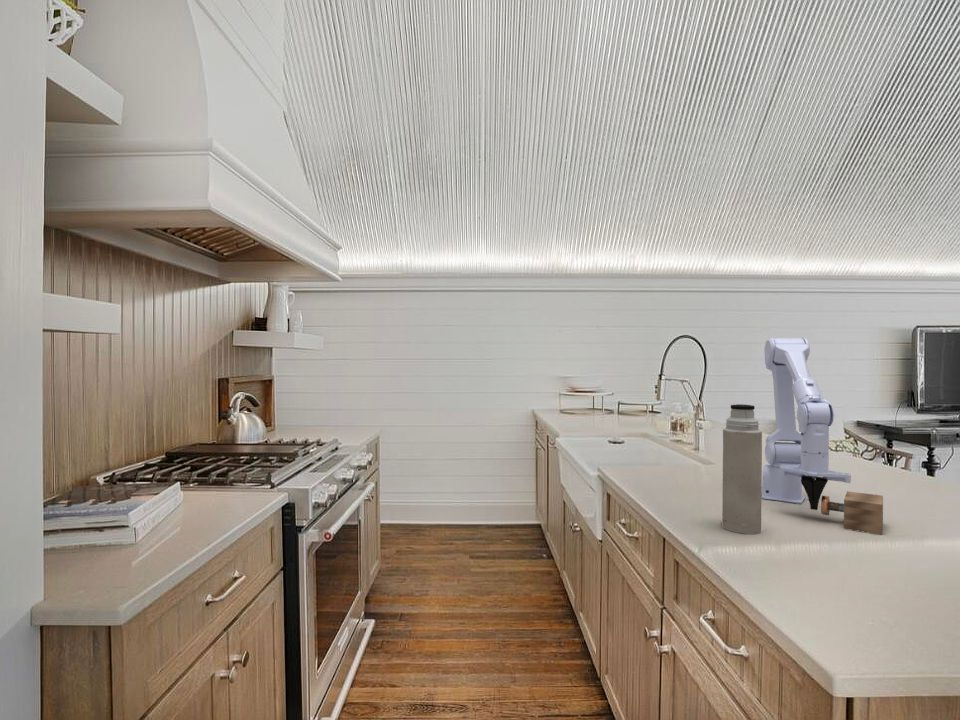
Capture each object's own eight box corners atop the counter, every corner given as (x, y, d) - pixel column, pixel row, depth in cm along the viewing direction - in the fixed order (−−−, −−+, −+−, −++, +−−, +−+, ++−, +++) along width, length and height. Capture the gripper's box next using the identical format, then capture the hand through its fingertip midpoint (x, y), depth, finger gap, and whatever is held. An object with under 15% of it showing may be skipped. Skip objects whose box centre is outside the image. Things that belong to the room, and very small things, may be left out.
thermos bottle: (720, 521, 131) (721, 402, 130) (758, 525, 128) (759, 403, 128) (723, 531, 123) (724, 405, 123) (763, 535, 120) (764, 406, 120)
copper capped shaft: (821, 516, 131) (821, 497, 131) (822, 512, 134) (823, 493, 134) (880, 525, 124) (880, 505, 124) (881, 520, 127) (881, 501, 127)
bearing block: (843, 528, 126) (844, 499, 126) (846, 518, 134) (847, 491, 134) (882, 534, 121) (882, 504, 121) (882, 523, 129) (883, 495, 129)
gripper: (777, 451, 135) (777, 507, 135) (849, 457, 126) (849, 517, 126) (782, 447, 140) (782, 501, 140) (851, 453, 131) (851, 511, 131)
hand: (814, 508), depth 133 cm, fingers closed
